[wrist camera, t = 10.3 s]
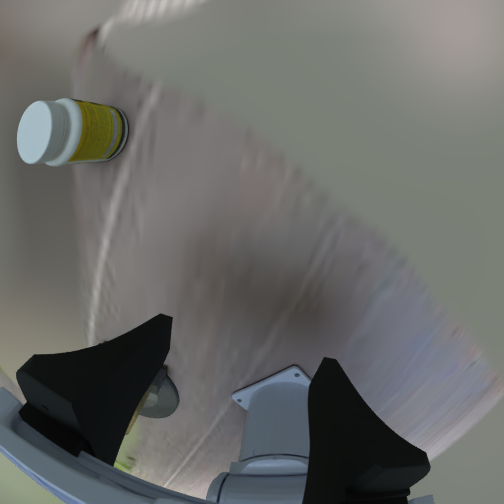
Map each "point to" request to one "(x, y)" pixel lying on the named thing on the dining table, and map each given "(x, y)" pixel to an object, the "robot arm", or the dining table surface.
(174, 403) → the flange seat
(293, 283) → the dining table surface
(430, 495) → the robot arm
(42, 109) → the supplement bottle
